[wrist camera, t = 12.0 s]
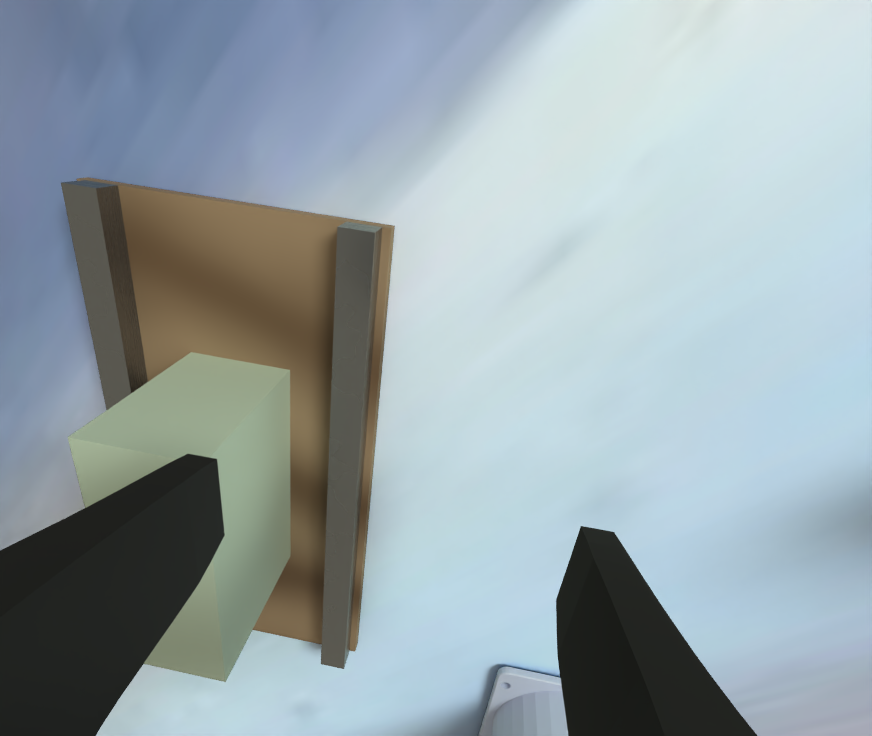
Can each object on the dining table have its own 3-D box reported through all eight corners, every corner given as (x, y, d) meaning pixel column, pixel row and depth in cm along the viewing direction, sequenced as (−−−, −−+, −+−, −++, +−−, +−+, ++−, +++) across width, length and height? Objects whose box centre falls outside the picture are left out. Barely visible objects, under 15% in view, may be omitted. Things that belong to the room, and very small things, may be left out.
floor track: (357, 642, 26) (349, 670, 25) (163, 601, 27) (144, 625, 26) (394, 226, 16) (384, 234, 15) (87, 177, 17) (51, 181, 16)
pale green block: (290, 555, 23) (225, 681, 18) (210, 539, 24) (122, 658, 18) (290, 370, 19) (203, 464, 14) (191, 352, 19) (67, 437, 14)
